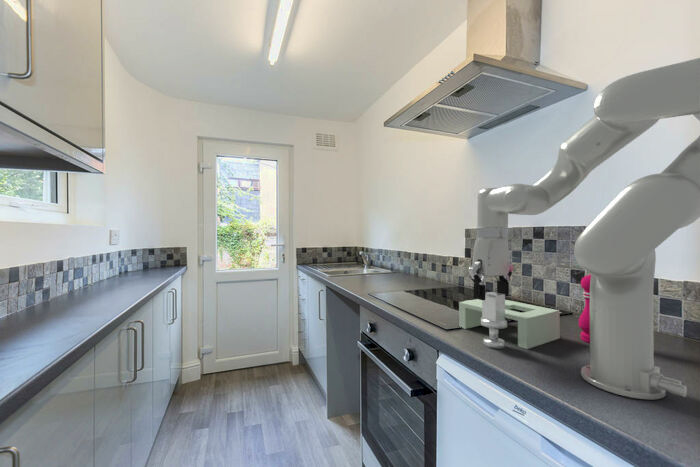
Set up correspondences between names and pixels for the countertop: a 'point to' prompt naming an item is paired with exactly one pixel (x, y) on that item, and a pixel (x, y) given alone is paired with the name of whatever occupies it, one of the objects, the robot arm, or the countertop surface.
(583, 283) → the pepper mill
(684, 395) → the robot arm
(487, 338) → the steel peg
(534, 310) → the keyhole bracket
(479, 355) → the countertop surface
